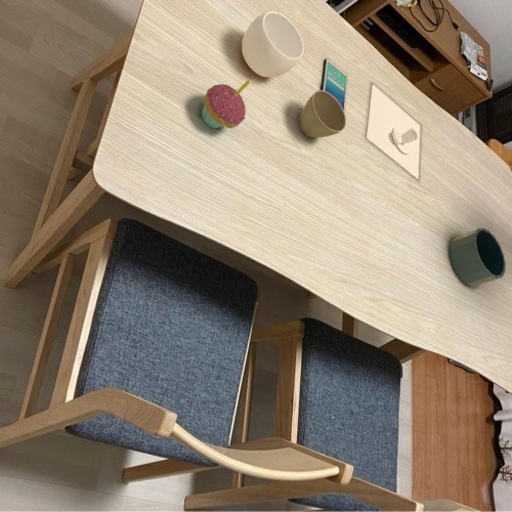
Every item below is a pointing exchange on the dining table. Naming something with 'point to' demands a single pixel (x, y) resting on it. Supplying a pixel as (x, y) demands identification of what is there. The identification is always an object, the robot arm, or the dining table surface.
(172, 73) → the dining table surface
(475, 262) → the bowl
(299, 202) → the dining table surface
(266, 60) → the cup
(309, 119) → the flower pot
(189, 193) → the dining table surface
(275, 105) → the dining table surface
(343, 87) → the smartphone
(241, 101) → the cupcake
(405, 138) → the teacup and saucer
